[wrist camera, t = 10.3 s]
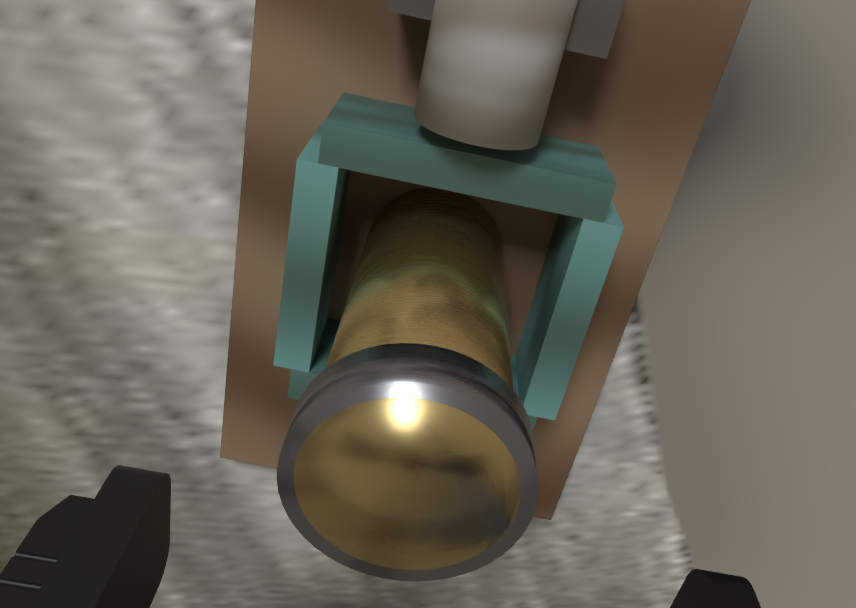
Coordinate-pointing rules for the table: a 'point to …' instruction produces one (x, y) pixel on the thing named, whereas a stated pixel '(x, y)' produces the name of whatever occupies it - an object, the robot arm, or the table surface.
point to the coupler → (416, 405)
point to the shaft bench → (464, 180)
